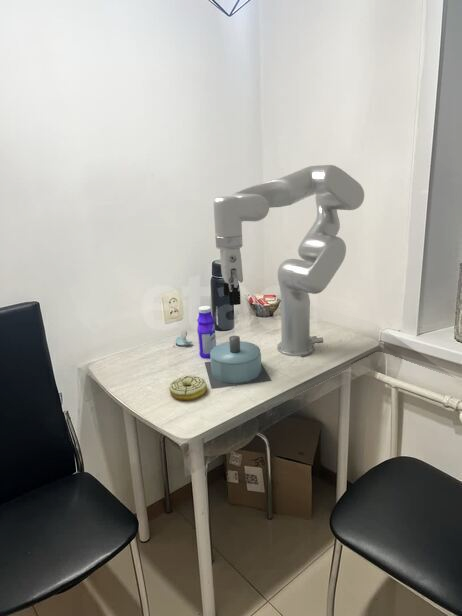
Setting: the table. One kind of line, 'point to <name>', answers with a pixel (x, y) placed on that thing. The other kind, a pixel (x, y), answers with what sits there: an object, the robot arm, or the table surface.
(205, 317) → the bottle
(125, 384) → the table surface
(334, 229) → the robot arm
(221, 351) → the squat blue cylinder
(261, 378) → the mat
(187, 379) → the decorated donut
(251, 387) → the table surface
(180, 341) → the pacifier
